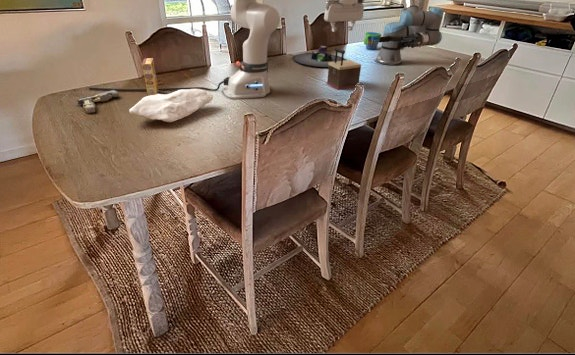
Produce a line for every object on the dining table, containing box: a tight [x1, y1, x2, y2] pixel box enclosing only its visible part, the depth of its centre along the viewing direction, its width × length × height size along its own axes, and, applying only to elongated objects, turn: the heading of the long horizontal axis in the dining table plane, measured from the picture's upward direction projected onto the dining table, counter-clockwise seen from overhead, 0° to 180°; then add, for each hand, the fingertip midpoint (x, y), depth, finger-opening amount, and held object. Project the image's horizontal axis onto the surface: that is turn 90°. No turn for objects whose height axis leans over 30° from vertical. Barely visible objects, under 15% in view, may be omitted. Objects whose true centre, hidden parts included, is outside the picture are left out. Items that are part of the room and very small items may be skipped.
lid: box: [328, 47, 362, 70], centre depth 181 cm, size 13×10×9 cm
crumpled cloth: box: [129, 89, 214, 123], centre depth 147 cm, size 24×35×9 cm
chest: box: [326, 65, 362, 90], centre depth 186 cm, size 13×10×10 cm
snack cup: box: [363, 31, 382, 50], centre depth 257 cm, size 16×10×10 cm
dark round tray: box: [291, 45, 347, 68], centre depth 225 cm, size 35×35×9 cm
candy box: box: [141, 57, 160, 96], centre depth 163 cm, size 9×4×15 cm, turn 13°
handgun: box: [76, 90, 120, 114], centre depth 155 cm, size 3×18×15 cm
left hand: (342, 30), depth 173 cm, fingers open, 8 cm apart
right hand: (388, 42), depth 190 cm, fingers open, 13 cm apart
